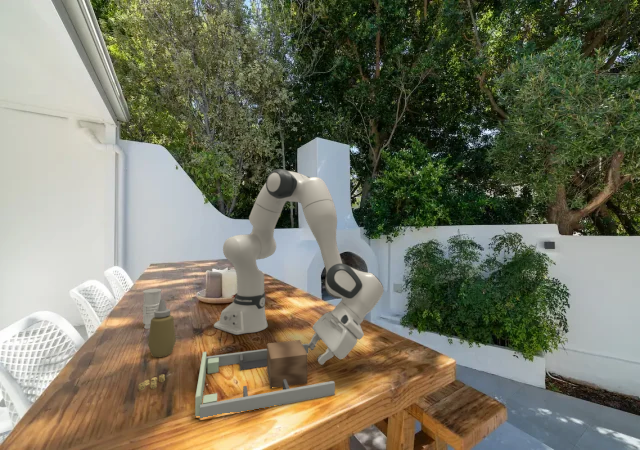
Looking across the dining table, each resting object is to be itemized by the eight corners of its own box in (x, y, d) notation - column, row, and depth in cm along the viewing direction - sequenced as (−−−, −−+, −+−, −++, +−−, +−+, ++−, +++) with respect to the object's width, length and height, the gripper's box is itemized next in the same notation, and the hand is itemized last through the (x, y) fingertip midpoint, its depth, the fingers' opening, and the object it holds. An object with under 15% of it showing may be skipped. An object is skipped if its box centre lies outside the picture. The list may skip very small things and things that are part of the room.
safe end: (218, 366, 86) (218, 350, 86) (216, 415, 64) (217, 393, 64) (202, 368, 85) (202, 352, 85) (195, 419, 63) (195, 396, 63)
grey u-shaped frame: (307, 352, 96) (307, 343, 96) (334, 394, 73) (334, 382, 73) (206, 366, 86) (206, 356, 86) (199, 421, 62) (199, 407, 62)
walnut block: (299, 365, 87) (299, 340, 87) (307, 383, 78) (307, 354, 78) (266, 370, 85) (267, 343, 85) (270, 388, 75) (270, 358, 75)
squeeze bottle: (181, 350, 97) (181, 297, 97) (160, 361, 89) (161, 304, 89) (163, 346, 99) (163, 295, 99) (141, 357, 92) (142, 301, 92)
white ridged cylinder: (138, 327, 117) (138, 291, 117) (153, 322, 123) (154, 287, 123) (150, 330, 114) (150, 293, 114) (165, 324, 121) (165, 289, 121)
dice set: (165, 381, 79) (165, 374, 79) (157, 392, 74) (157, 384, 74) (146, 381, 79) (146, 375, 79) (136, 393, 73) (136, 385, 73)
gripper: (326, 303, 96) (298, 335, 93) (352, 323, 77) (317, 364, 74) (338, 314, 98) (311, 346, 95) (366, 337, 78) (333, 379, 75)
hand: (314, 354), depth 84 cm, fingers open, 8 cm apart
